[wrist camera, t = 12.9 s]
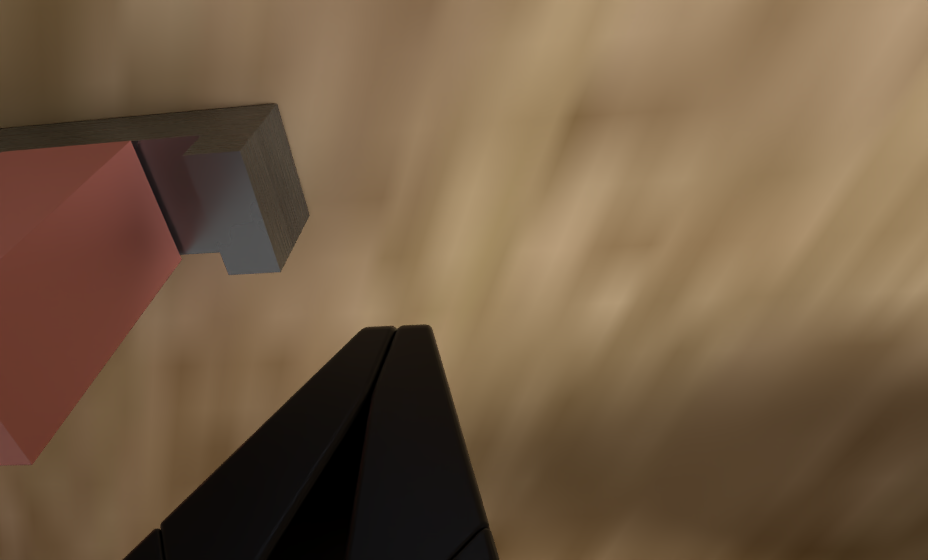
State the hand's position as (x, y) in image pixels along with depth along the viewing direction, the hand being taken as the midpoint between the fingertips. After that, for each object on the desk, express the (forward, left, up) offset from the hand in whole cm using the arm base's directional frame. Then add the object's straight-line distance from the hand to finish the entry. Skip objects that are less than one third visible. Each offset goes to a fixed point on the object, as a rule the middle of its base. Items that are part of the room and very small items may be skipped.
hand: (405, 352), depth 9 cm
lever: (+7, 0, -4) cm, 8 cm away
